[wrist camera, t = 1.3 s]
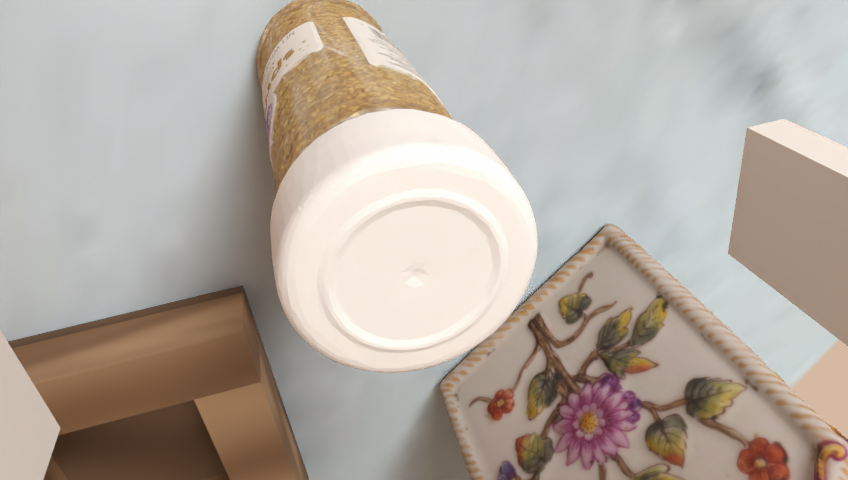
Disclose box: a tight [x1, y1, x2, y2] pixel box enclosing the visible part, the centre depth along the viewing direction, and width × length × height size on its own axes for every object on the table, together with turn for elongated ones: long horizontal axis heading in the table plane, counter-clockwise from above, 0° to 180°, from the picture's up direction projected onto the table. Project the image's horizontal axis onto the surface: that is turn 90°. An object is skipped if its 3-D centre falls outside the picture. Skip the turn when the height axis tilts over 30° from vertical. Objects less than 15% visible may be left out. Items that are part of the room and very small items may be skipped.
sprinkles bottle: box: [256, 0, 538, 373], centre depth 16 cm, size 5×5×14 cm
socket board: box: [8, 286, 309, 480], centre depth 26 cm, size 12×12×3 cm
